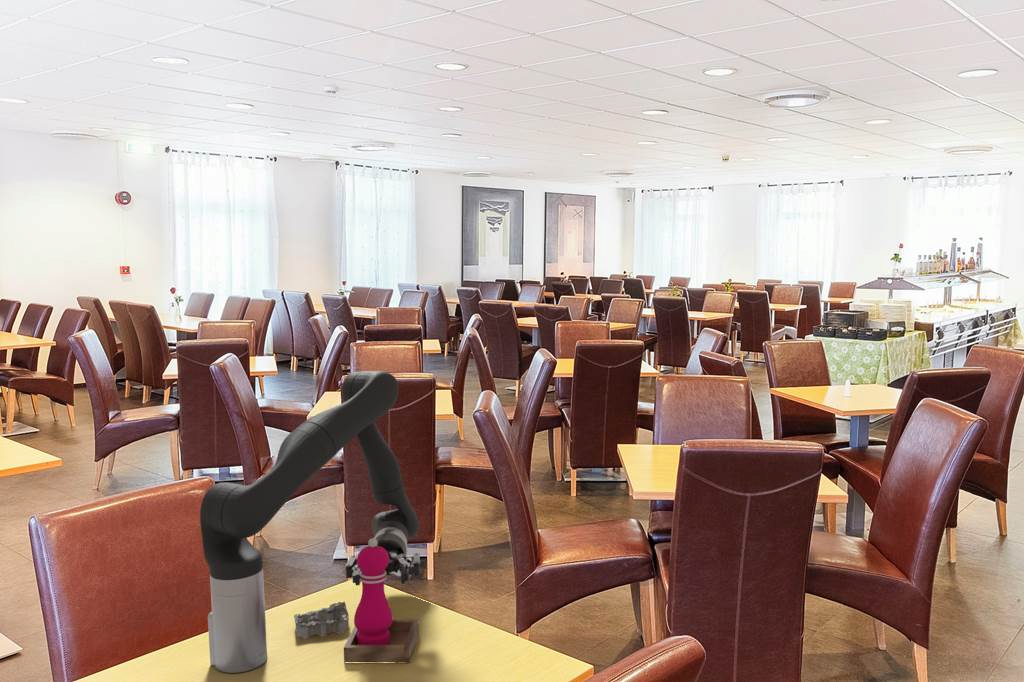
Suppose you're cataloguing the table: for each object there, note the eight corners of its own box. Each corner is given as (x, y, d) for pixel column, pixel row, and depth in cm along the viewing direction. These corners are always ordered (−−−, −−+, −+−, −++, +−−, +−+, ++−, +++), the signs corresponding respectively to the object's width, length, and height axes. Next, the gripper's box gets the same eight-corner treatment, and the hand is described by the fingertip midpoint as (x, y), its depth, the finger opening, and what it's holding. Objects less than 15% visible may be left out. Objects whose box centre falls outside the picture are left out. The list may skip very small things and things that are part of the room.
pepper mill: (385, 651, 156) (384, 545, 155) (348, 648, 157) (347, 543, 156) (397, 635, 163) (397, 533, 162) (362, 632, 164) (361, 531, 163)
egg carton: (348, 619, 174) (347, 600, 174) (350, 634, 167) (349, 614, 166) (294, 625, 172) (294, 605, 171) (294, 641, 164) (293, 620, 164)
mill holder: (344, 663, 154) (343, 647, 154) (358, 634, 166) (357, 619, 166) (409, 663, 154) (409, 647, 153) (419, 634, 166) (418, 619, 165)
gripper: (352, 533, 174) (341, 561, 158) (422, 531, 174) (417, 558, 158) (354, 569, 174) (342, 600, 158) (423, 566, 175) (419, 597, 159)
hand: (380, 579), depth 158 cm, fingers open, 8 cm apart
